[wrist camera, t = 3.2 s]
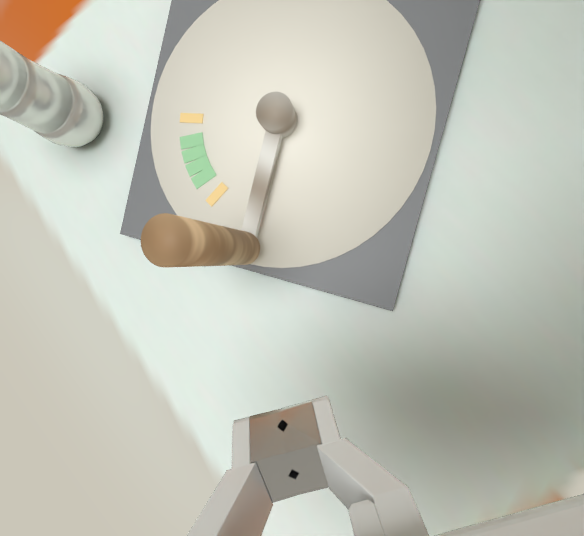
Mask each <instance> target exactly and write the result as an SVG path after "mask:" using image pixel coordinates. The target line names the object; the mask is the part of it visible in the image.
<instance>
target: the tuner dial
mask: <svg viewBox="0 0 584 536" xmlns="http://www.w3.org/2000/svg"><path fill="white" fill-rule="evenodd" d="M479 2H480V0H172V2H171V6H170V11H169V15H168V20H167V24H166V29H165V34H164V38H163V43H162V47H161V52H160V56H159V61H158V65H157V70H156V74H155V79H154V83H153V88H152V92H151V97H150V101H149V106H148V110H147V115H146V119H145V124H144V128H143V133H142V137H141V142H140V146H139V151H138V155H137V160H136V164H135V169H134V173H133V178H132V182H131V187H130V191H129V196H128V200H127V205H126V209H125V214H124V219H123V223H122V228H121V232H120V234H122V235H126V236H129V237H133V238H137V239H140V240H141V234H142V230H143V228H144V226H145V224H146V223H147V222H148V221H149V220H150V219H151V218H152V217H154V216H156V215H158V214H163V213H168V214H173V215H177V216H182V217H186V218H190V219H194V220H199V221H203V222H207V223H212V224H216V225H220V226H224V227H229V228H233V229H237V230H241V229H242V225H243V221H244V217H245V213H246V209H247V205H248V200H249V196H250V192H251V188H252V184H253V180H254V176H255V172H256V168H257V164H258V160H259V156H260V152H261V148H262V144H263V139H264V135H265V129H264V128H263V127H262V126H261V125H260V123H259V122H258V120H257V117H256V107H257V104H258V102H259V100H260V99H261V98H262V97H263V96H264V95H266V94H268V93H270V92H281V93H283V94H285V95H286V96H287V97H288V98H289V99H290V101H291V103H292V105H293V107H294V109H295V111H296V113H297V125H296V127H295V129H294V131H293V132H292V133H291V134H290V135H288V136H286V137H283V138H282V140H281V144H280V148H279V152H278V156H277V160H276V164H275V168H274V172H273V176H272V180H271V184H270V188H269V192H268V196H267V200H266V204H265V208H264V212H263V216H262V220H261V224H260V228H259V232H258V236H257V239H258V241H259V243H260V253H259V256H258V258H257V259H256V260H255V261H254V262H253V263H251V264H248V265H232V266H236V267H239V268H243V269H246V270H250V271H253V272H257V273H260V274H264V275H267V276H271V277H274V278H278V279H281V280H285V281H289V282H292V283H296V284H299V285H303V286H306V287H310V288H313V289H317V290H320V291H324V292H327V293H331V294H334V295H338V296H342V297H345V298H349V299H352V300H356V301H359V302H363V303H366V304H370V305H373V306H377V307H380V308H384V309H387V310H391V311H393V308H394V304H395V301H396V297H397V294H398V290H399V287H400V283H401V280H402V276H403V272H404V269H405V265H406V262H407V258H408V255H409V251H410V248H411V244H412V240H413V237H414V233H415V230H416V226H417V223H418V219H419V216H420V212H421V208H422V205H423V201H424V198H425V194H426V191H427V187H428V184H429V180H430V176H431V173H432V169H433V166H434V162H435V159H436V155H437V152H438V148H439V144H440V141H441V137H442V134H443V130H444V127H445V123H446V120H447V116H448V113H449V109H450V105H451V102H452V98H453V95H454V91H455V88H456V84H457V81H458V77H459V73H460V70H461V66H462V63H463V59H464V56H465V52H466V49H467V45H468V41H469V38H470V34H471V31H472V27H473V24H474V20H475V17H476V13H477V9H478V6H479Z"/></svg>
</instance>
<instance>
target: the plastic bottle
mask: <svg viewBox="0 0 584 536" xmlns="http://www.w3.org/2000/svg"><path fill="white" fill-rule="evenodd" d="M0 115H3V116H5V117H7V118H10V119H12V120H14V121H16V122H18V123H20V124H22V125H24V126H26V127H28V128H30V129H32V130H33V131H35V132H36V133H38V134H39V135H41V136H42V137H44V138H46V139H48V140H49V141H51V142H53V143H55V144H58V145H63V146H69V147H80V146H83V145H85V144H88V143H89V142H91V141H93V140H94V139H95V138H96V137H97V135H98V134H99V132H100V131H101V128H102V125H103V110H102V107H101V104H100V101H99V100H98V98H97V97H96V96H95V95H94V94H93V93H92V92H91V91H90V90H89V89H88V88H87V87H86V86H85V85H83V84H82V83H80V82H78V81H76V80H74V79H71V78H69V77H66V76H63V75H60V74H57V73H55V72H53V71H51V70H49V69H47V68H45V67H43V66H41V65H39V64H37V63H35V62H33V61H31V60H28V59H27V58H26V57H24V56H23V55H21V54H19V53H18V52H16V51H15V50H14V49H12V48H10V47H9V46H7V45H6V44H4V43H3V42H1V41H0Z"/></svg>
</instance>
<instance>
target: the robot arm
mask: <svg viewBox="0 0 584 536" xmlns="http://www.w3.org/2000/svg"><path fill="white" fill-rule="evenodd" d="M312 402H313V403H312ZM328 487H329V489H330V490H331V491H332V492H333V493H334V494H335V496H336V497H337V498H338V499H339V500H340V501H341V502H342V503H343V504H344V505H345V506H346V508H347V509H348V511H349V515H350V520H351V524H352V528H353V532H354V536H429V534H428V532H427V529H426V527H425V525H424V522H423V520H422V518H421V515H420V513H419V511H418V509H417V506H416V504H415V502H414V499H413V497H412V495H411V492H410V490H409V488H408V487H407V486H406V485H405V484H404V483H402V482H401V481H400V480H398V479H397V478H396V477H395V476H393V475H392V474H391V473H390V472H388V471H387V470H386V469H385V468H383V467H382V466H381V465H379V464H378V463H377V462H376V461H374V460H373V459H372V458H371V457H369V456H368V455H367V454H365V453H364V452H363V451H362V450H360V449H359V448H358V447H357V446H355V445H354V444H353V443H351V442H350V441H349V440H348V439H346V438H343V439H341V438H340V434H339V431H338V428H337V424H336V421H335V417H334V414H333V411H332V407H331V404H330V400H329V397H328V396H324V397H320V398H316V399H313V400H309V401H306V402H302V403H298V404H295V405H291V406H288V407H284V408H281V409H278V410H274V411H270V412H266V413H261V414H257V415H253V416H250V417H246V418H242V419H238V420H234V423H233V431H232V469H229V470H227V471H226V472H225V474H224V476H223V477H222V479H221V481H220V482H219V484H218V485H217V487H216V489H215V490H214V492H213V494H212V495H211V497H210V499H209V500H208V502H207V504H206V505H205V507H204V508H203V510H202V512H201V514H200V515H199V517H198V518H197V520H196V522H195V523H194V525H193V526H192V528H191V530H190V531H189V533H188V535H187V536H261V535H262V532H263V530H264V527H265V524H266V522H267V519H268V516H269V514H270V511H271V509H272V506H273V504H272V503H273V502H277V501H280V500H283V499H286V498H290V497H293V496H296V495H299V494H303V493H307V492H311V491H316V490H320V489H324V488H328ZM434 536H584V494H582V495H578V496H574V497H571V498H567V499H564V500H560V501H556V502H553V503H549V504H546V505H542V506H539V507H535V508H531V509H528V510H524V511H521V512H517V513H513V514H510V515H506V516H503V517H499V518H495V519H492V520H488V521H485V522H481V523H478V524H474V525H470V526H467V527H463V528H460V529H456V530H452V531H449V532H445V533H442V534H438V535H434Z"/></svg>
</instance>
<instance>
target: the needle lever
mask: <svg viewBox="0 0 584 536" xmlns="http://www.w3.org/2000/svg"><path fill="white" fill-rule="evenodd" d="M256 117H257V120H258V122H259V123H260V125H261V126H262V127H263V128H264V129H265V135H264V139H263V144H262V148H261V152H260V156H259V160H258V164H257V168H256V172H255V176H254V180H253V184H252V188H251V192H250V196H249V200H248V205H247V209H246V213H245V217H244V221H243V225H242V229H241V230H237V229H233V228H229V227H224V226H220V225H216V224H212V223H207V222H203V221H199V220H194V219H190V218H186V217H182V216H177V215H173V214H168V213H163V214H158V215H156V216H154V217H152V218H151V219H150V220H149V221H148V222H147V223H146V224H145V226H144V228H143V230H142V234H141V247H142V250H143V253H144V255H145V256H146V258H147V259H148V260H149V261H150V262H151V263H153V264H154V265H156V266H159V267H191V266H225V265H248V264H251V263H253V262H254V261H255V260H256V259H257V258H258V256H259V253H260V243H259V241H258V239H257V236H258V232H259V228H260V224H261V220H262V216H263V212H264V208H265V204H266V200H267V196H268V192H269V188H270V184H271V180H272V176H273V172H274V168H275V164H276V160H277V156H278V152H279V148H280V144H281V140H282V138H283V137H286V136H288V135H290V134H291V133H292V132H293V131H294V129H295V127H296V125H297V113H296V111H295V109H294V107H293V105H292V103H291V101H290V99H289V98H288V97H287V96H286V95H285V94H283V93H281V92H270V93H268V94H266V95H264V96H263V97H262V98H261V99H260V100H259V102H258V104H257V107H256Z"/></svg>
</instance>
